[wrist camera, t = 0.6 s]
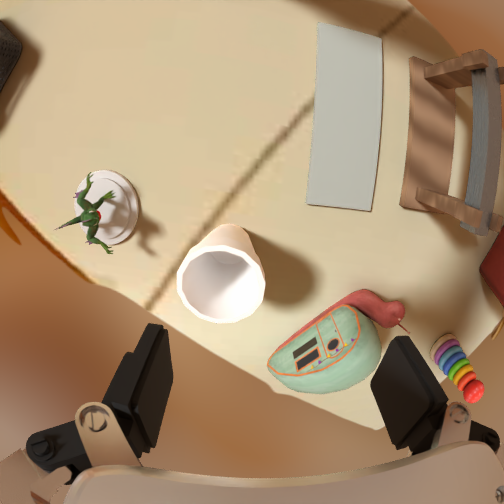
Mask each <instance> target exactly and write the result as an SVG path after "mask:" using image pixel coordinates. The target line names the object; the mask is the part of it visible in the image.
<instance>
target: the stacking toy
mask: <svg viewBox="0 0 504 504" xmlns="http://www.w3.org/2000/svg"><path fill="white" fill-rule="evenodd" d="M430 358H431V360H432V361H435V363H436V364H437V365H439V368H440V370H442V371H443V372H444V374H445V375H447V376H448V377H449V379H450V380H452V381H453V383H454V384H455V385H458V389H459V390H460V391H464V392H463V395H464V399H465V401H467V402H468V403H475V402H477V401H478V400H479V399H480V398H481V397H482V395H483V392H484V385H483V383H482V382H481V381H479V380H475V379H476V374H475V373H474V372H473V367H472V366H471V365H470V363H469V360H468V359H466V355H465V353H463V350H462V348H461V347H460V344H459V342H458V341H457V340H456V337H455V336H454V335H453V334H446V335H444V336H442V337H441V338H440V339H438V340H437V341H436V342H435V344H434V345H433V347H432V348H431V351H430Z"/></svg>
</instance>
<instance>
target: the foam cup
mask: <svg viewBox="0 0 504 504" xmlns="http://www.w3.org/2000/svg"><path fill="white" fill-rule="evenodd" d="M265 284H266V283H265V273H264V271H263V268H262V265H261V262H260V259H259V257H258V256H257V255H256V253H255V251H254V248H253V246H252V243H251V241H250V238H249V235H248V233H247V232H246V231H245V230H244V229H243V228H241V227H240V226H237V225H234V224H222V225H220V226H219V227H217V228H215V229H214V230H212V231H211V232H210V233H209V234H208V235H207V236H206V237H205V238H204V239H203V240H202V241H201V242H200V243H199V244H197V245H196V246H194V247H192V248H191V249H190V251H189V252H188V254H187V256H186V257H185V259H184V261H183V263H182V264H181V266H180V268H179V270H178V272H177V291H178V293H179V295H180V297H181V299H182V301H183V303H184V305H185V307H187V308H188V309H189V310H190V311H192V312H193V313H194V314H195V315H196V316H198V317H199V318H202V319H205V320H208V321H211V322H214V323H233V322H237V321H239V320H241V319H243V318H246V317H248V316H250V315H252V313H253V312H254V311H255V310H256V309H257V307H258V306H259V305H260V304H261V302H262V301H263V296H264V290H265Z"/></svg>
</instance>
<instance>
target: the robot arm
mask: <svg viewBox="0 0 504 504" xmlns="http://www.w3.org/2000/svg"><path fill="white" fill-rule="evenodd" d="M172 383H173V369H172V363H171V354H170V346H169V337H168V330H167V329H164V328H163V325H157V324H151V323H149V324H148V325H147V326H146V328H145V330H144V332H143V334H142V337H141V338H140V340H139V342H138V345H137V346H136V348H135V350H134V353H131V352H127V353H126V354H125V355H124V357H123V359H122V361H121V363H120V365H119V367H118V369H117V371H116V373H115V375H114V377H113V379H112V381H111V383H110V386H109V387H108V390H107V392H106V394H105V396H104V398H103V400H102V403H100V402H89V403H86V404H84V405H82V406H81V407H80V408H79V409H78V411H77V412H76V415H75V420H74V421H71V422H68V423H65V424H62V425H59V426H56V427H53V428H49V429H46V430H43V431H40V432H37V433H34V434H32V435H31V436H30V437H29V438H28V440H27V443H26V449H24V450H23V451H22V450H21V449H19V450H17V451H16V452H14V453H13V454H11V455H10V456H8V457H7V458H5V459H4V460H3V461H1V462H0V501H1V503H2V504H50V500H51V497H52V496H53V495H54V494H55V493H57V492H58V490H57V489H58V488H59V487H61V486H62V485H63V484H64V485H70V484H72V485H71V487H70V489H69V491H68V493H67V495H66V498H65V500H64V503H63V504H504V444H503V443H501V444H500V439H499V436H498V434H497V433H496V431H494V430H493V429H491V428H488V427H486V426H484V425H481V424H479V423H477V422H474V421H472V420H471V412H470V410H469V409H468V407H467V406H466V405H464V404H463V403H461V402H452V403H450V404H449V405H447V404H446V403H447V401H448V398H447V396H446V394H445V392H444V391H443V389H442V388H441V386H440V384H439V382H438V381H437V379H436V377H435V376H434V374H433V373H432V371H431V369H430V368H429V366H428V365H427V363H426V362H425V360H424V358H423V357H422V355H421V354H420V352H419V351H418V349H417V348H416V346H415V345H414V343H413V342H412V340H411V339H410V337H409V336H396V337H395V338H394V339H393V340H392V341H391V342H390V344H389V346H388V349H387V351H386V353H385V355H384V357H383V359H382V361H381V363H380V365H379V367H378V369H377V371H376V373H375V374H374V376H373V378H372V380H371V384H370V386H371V390H372V392H373V395H374V397H375V400H376V402H377V405H378V407H379V410H380V412H381V415H382V418H383V420H384V423H385V426H386V428H387V431H388V434H389V436H390V439H391V442H392V444H394V445H395V446H396V449H397V450H399V449H402V448H406V447H407V446H409V449H410V450H409V452H408V455H407V457H406V458H403V459H400V460H396V461H393V462H389V463H385V464H381V465H377V466H373V467H368V468H363V469H358V470H353V471H348V472H341V473H335V474H327V475H318V476H309V477H295V478H272V479H271V478H270V479H256V478H255V479H253V478H250V479H249V478H229V477H217V476H206V475H197V474H189V473H182V472H175V471H169V470H162V469H155V468H148V467H143V466H142V464H141V463H140V461H139V459H138V458H140V457H141V455H142V452H145V453H149V452H150V448H151V447H152V448H155V446H156V443H157V439H158V435H159V431H160V427H161V423H162V419H163V416H164V412H165V408H166V404H167V401H168V397H169V394H170V390H171V386H172Z"/></svg>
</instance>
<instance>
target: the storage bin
mask: <svg viewBox="0 0 504 504" xmlns="http://www.w3.org/2000/svg"><path fill="white" fill-rule="evenodd" d="M21 48H22V45H21V43H20V42H19V41H18V40H17V38H16V37H15V36H14V35H13V34H12V33H11V32H10V31H9V30H8V29H7V28H6V27H5V26H4V25H3V24H2V23H1V22H0V91H1V89H2V87H3V85H4V83H5V81H6V79H7V78H8V76H9V74H10V72H11V71H12V69H13V67H14V65H15V64H16V62H17V60H18V58H19V56H20V53H21Z"/></svg>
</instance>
